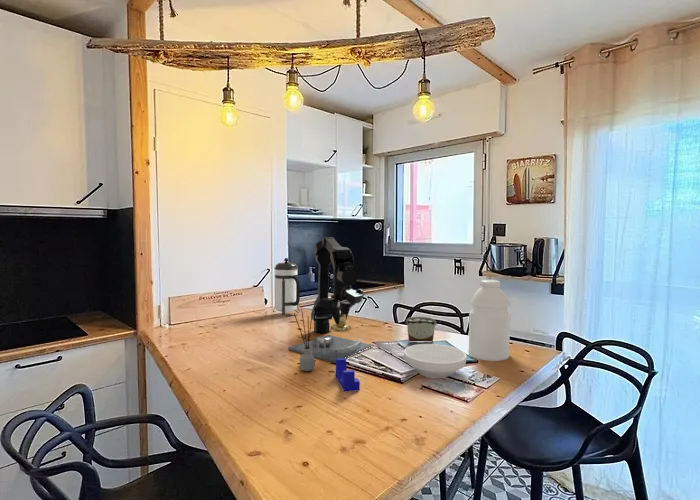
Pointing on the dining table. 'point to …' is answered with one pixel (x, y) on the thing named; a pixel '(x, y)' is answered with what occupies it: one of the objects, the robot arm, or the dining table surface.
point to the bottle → (489, 323)
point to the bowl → (435, 359)
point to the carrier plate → (331, 347)
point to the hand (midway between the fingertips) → (340, 323)
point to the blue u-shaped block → (346, 376)
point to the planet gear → (341, 324)
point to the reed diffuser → (306, 351)
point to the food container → (420, 328)
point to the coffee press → (286, 287)
